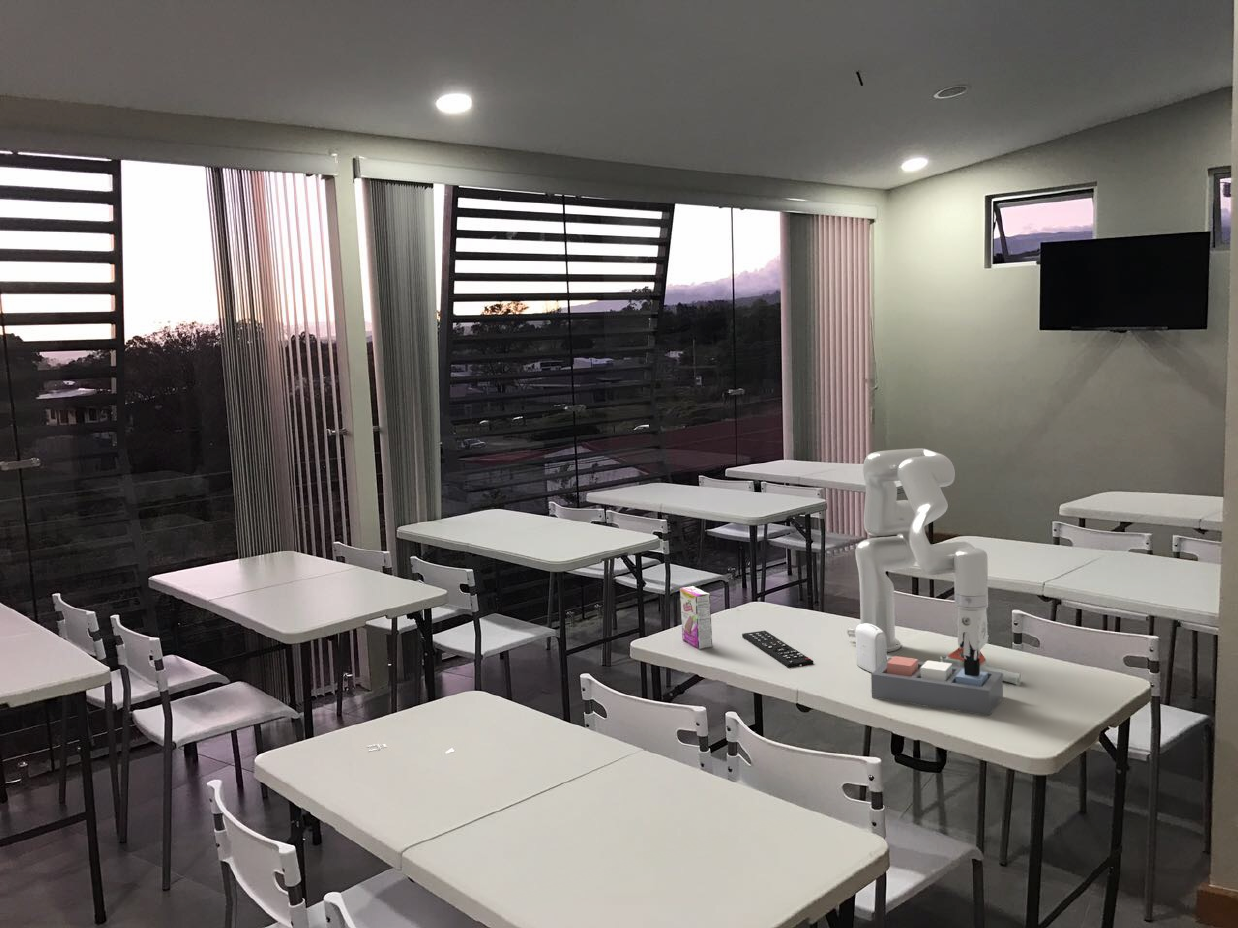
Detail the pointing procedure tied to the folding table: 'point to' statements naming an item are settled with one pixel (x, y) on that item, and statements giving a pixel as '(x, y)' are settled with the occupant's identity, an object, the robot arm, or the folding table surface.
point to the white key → (936, 671)
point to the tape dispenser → (958, 661)
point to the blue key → (972, 678)
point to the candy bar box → (696, 617)
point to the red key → (902, 666)
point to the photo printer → (870, 647)
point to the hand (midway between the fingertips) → (972, 674)
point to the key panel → (938, 690)
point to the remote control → (777, 649)
